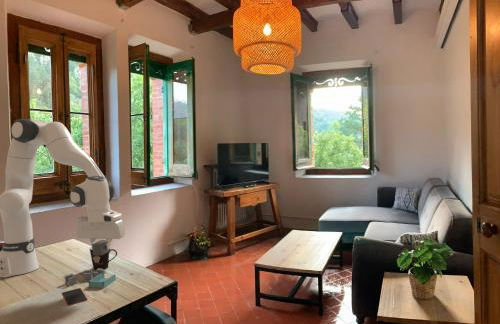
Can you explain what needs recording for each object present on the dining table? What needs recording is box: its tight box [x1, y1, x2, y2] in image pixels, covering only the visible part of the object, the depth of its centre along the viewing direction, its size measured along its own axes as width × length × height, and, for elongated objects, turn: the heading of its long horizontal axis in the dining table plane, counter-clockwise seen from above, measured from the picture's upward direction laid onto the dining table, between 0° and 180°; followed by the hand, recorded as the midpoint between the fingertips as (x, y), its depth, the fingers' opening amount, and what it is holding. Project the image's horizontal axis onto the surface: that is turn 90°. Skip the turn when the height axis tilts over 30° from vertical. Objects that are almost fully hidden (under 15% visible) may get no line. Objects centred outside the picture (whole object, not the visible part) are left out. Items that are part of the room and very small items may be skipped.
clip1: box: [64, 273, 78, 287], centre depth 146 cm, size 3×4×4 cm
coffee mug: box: [89, 246, 118, 272], centre depth 162 cm, size 12×9×10 cm
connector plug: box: [91, 239, 113, 255], centre depth 146 cm, size 4×10×4 cm, turn 168°
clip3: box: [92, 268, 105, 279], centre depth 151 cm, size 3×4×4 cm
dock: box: [88, 273, 117, 289], centre depth 145 cm, size 7×8×2 cm
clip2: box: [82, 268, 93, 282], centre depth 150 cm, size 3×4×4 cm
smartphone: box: [61, 287, 88, 307], centre depth 134 cm, size 7×1×14 cm
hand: (101, 248), depth 145 cm, fingers closed on connector plug, 4 cm apart
